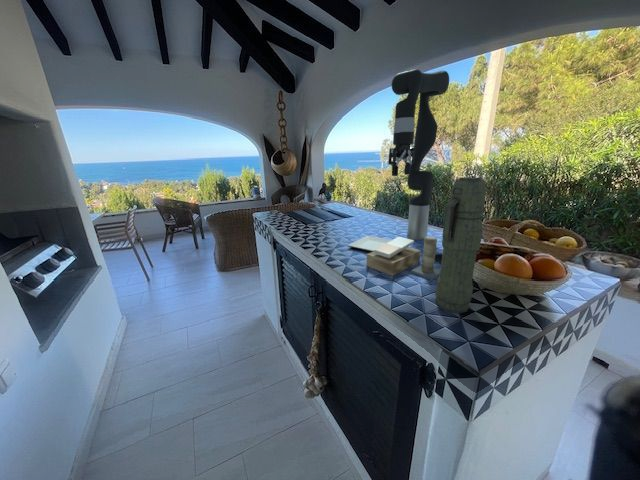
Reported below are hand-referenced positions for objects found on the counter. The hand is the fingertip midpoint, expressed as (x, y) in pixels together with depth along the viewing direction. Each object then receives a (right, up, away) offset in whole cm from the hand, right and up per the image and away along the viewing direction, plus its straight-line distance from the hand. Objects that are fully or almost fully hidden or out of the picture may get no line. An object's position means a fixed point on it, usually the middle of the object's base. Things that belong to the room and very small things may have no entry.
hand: (401, 175), depth 103 cm
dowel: (+6, -37, -11) cm, 39 cm away
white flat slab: (-4, -29, -4) cm, 29 cm away
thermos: (+5, -45, -30) cm, 54 cm away
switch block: (-4, -36, -2) cm, 36 cm away
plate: (-7, -30, +18) cm, 35 cm away
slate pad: (+6, -38, -11) cm, 40 cm away
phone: (+18, -35, -2) cm, 40 cm away
